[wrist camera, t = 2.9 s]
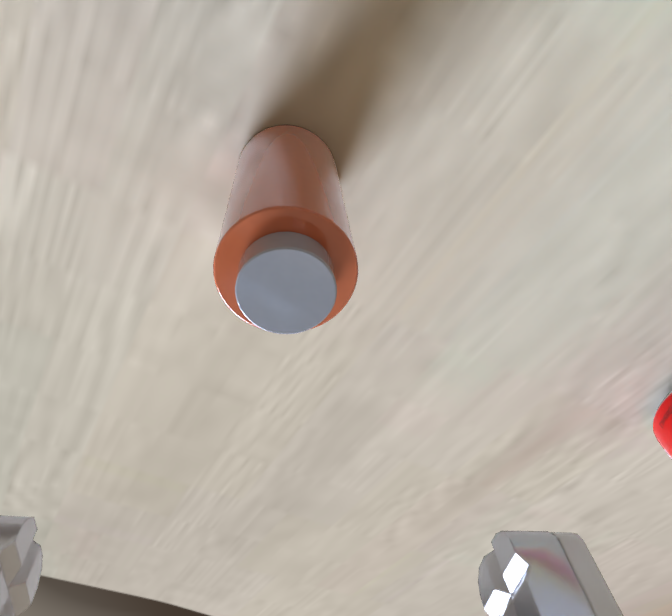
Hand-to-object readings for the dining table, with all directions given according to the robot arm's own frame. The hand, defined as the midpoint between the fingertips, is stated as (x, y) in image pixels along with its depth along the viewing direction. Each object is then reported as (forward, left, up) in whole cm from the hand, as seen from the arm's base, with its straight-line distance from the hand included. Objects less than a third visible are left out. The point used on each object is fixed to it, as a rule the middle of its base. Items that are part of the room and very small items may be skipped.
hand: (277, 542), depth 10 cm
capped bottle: (0, 0, -20) cm, 20 cm away
